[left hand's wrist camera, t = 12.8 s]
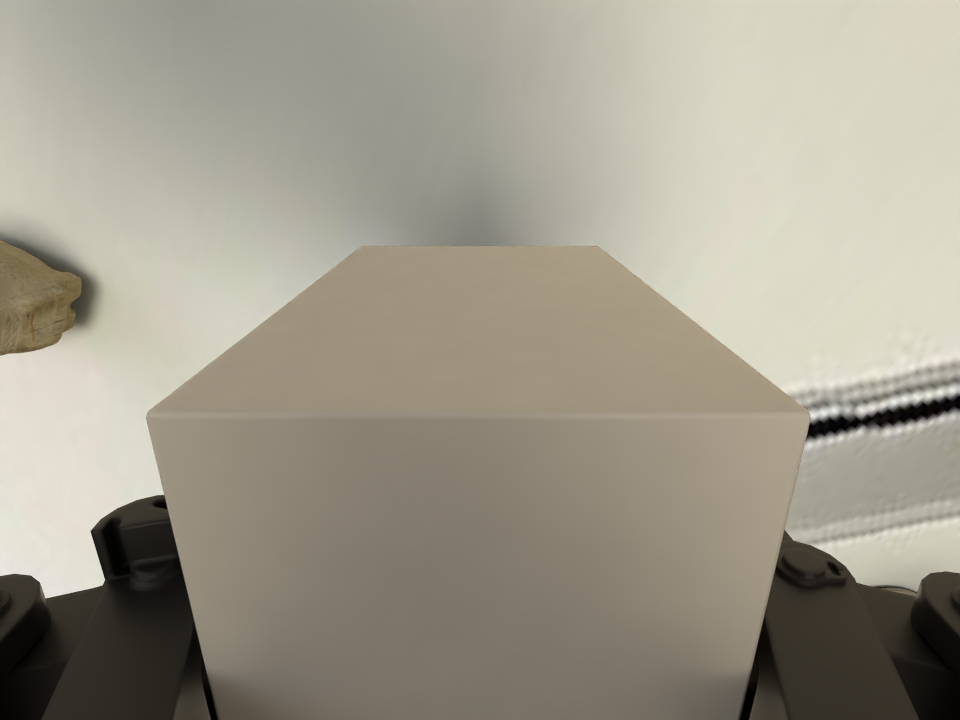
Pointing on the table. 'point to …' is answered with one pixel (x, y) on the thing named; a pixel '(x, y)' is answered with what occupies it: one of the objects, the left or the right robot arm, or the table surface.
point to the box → (478, 496)
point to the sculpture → (33, 301)
